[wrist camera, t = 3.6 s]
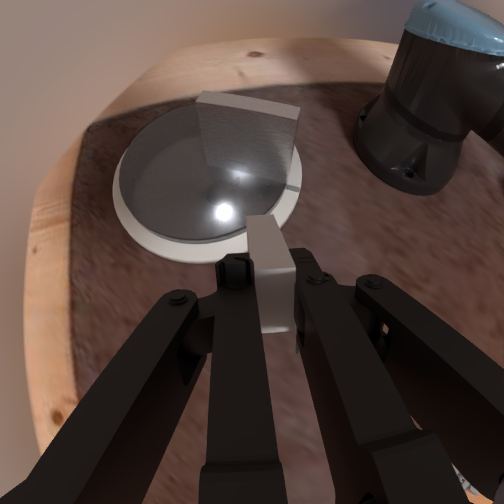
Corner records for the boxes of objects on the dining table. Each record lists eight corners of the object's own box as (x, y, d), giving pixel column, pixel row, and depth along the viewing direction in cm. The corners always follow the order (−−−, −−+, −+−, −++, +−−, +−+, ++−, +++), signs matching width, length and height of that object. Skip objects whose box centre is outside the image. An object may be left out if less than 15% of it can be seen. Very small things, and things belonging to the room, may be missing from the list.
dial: (96, 219, 31) (49, 164, 21) (165, 102, 37) (150, 41, 28) (262, 267, 29) (268, 212, 19) (303, 126, 35) (315, 58, 26)
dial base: (252, 94, 40) (251, 87, 39) (336, 215, 33) (339, 209, 31) (104, 148, 36) (101, 142, 35) (143, 297, 29) (138, 294, 28)
